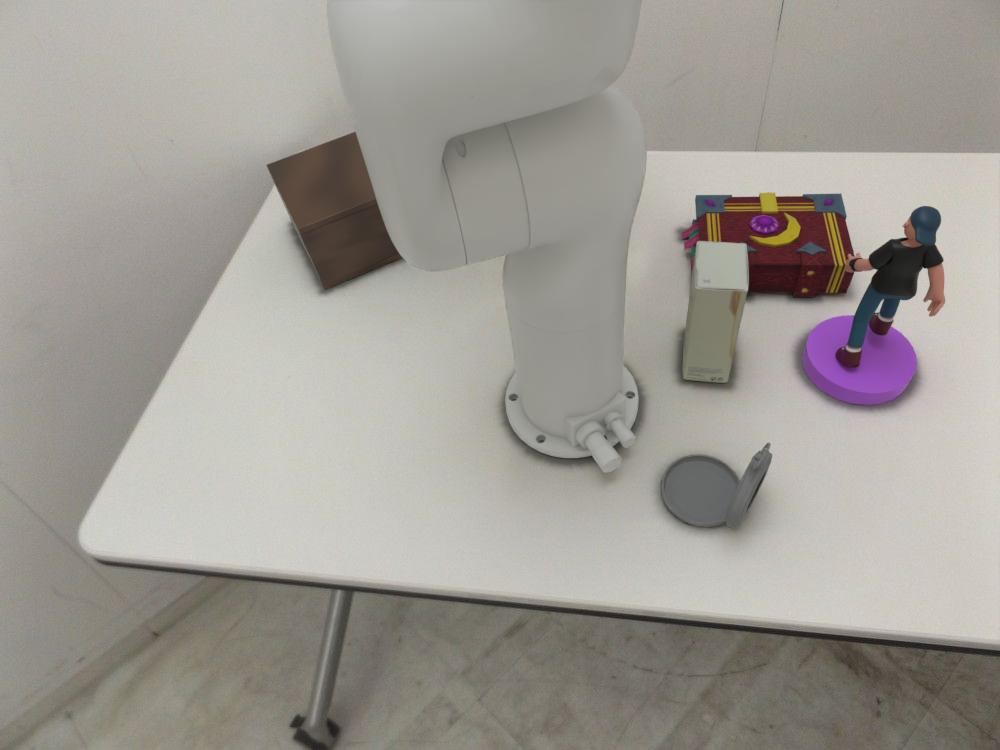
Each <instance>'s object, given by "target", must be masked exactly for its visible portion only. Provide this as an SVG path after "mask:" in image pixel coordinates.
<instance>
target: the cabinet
mask: <svg viewBox="0 0 1000 750" xmlns="http://www.w3.org/2000/svg"><path fill="white" fill-rule="evenodd" d="M266 168H267V170H268V172H269V174H270V176H271V179H272V181H273V183H274V185H275V188H276V191H277V192H278V195H279V197H280V199H281V201H282V203H283V207H284V208H285V210H286V212H287V215H288V218H289V220H290V221H291V224H292V225H293V228H294V230H295V232H296V234H297V236H298V238H299V240H300V242H301V244H302V247H303V248H304V250H305V252H306V254H307V256H308V258H309V261H310V263H311V264H312V267H313V269H314V271H315V273H316V275H317V277H318V279H319V281H320V283H321V285H322V287H323V290H325V291H326V290H328V289H331V288H333V287H336V286H338V285H340V284H343V283H344V282H348V281H350V280H352V279H355V278H357V277H360V276H362V275H365V274H367V273H369V272H371V271H374V270H376V269H379V268H381V267H384V266H386V265H388V264H390V263H394V262H395V261H398V260H400V259H403V257H402V256H401V255H400V254H399V252H398V251H397V249H396V247H395V246H394V244H393V242H392V240H391V238H390V236H389V234H388V232H387V229H386V227H385V224H384V221H383V218H382V215H381V212H380V209H379V206H378V203H377V200H376V197H375V193H374V190H373V187H372V183H371V180H370V177H369V174H368V170H367V167H366V164H365V161H364V158H363V154H362V151H361V148H360V145H359V141H358V138H357V135H356V132H355V131H353V132H350V133H348V134H345V135H343V136H340V137H337V138H334V139H332V140H329V141H327V142H323V143H321V144H318V145H316V146H313V147H310V148H308V149H305V150H302V151H300V152H297V153H294V154H292V155H288V156H287V157H283V158H281V159H277V160H275V161H273V162H270V163H267V164H266Z"/></svg>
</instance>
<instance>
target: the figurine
mask: <svg viewBox="0 0 1000 750" xmlns="http://www.w3.org/2000/svg"><path fill="white" fill-rule="evenodd" d="M941 224H942V215H941V213H940V211H939V210H938V209H937V208H936V207H933V206H930V205H922V206H921V205H920V206H919V207H917V208H915V209H913V210H912V212H911V214H910V216H909V217H908V219H907V221H905V222H904V224H903V225H902V228H904V229H903V234H904V236H905V237H900V238H890V239H889V240H887V241H886V242H885V243H883V244H882V245H881V246H880V247H878V248H876V249H875V250H874V251H872V252H871V253H870V254H869V255H868V258H863V257H861V253H860V252H856V253H855V255H854V256H855V257H853V256H851V254H848V260H847V261H846V265H845V266H846V272H850V273H853V272H854V273H855V272H856V273H861V272H870V271H873V270H876V271H875V273H874V274H873V275H872V277H871V279H870V283H869V284H868V286H867V288H866V289H865V292H864V294H863V295H862V297H861V299H860V301H859V303H858V306H857V308H856V311H855V313H854V314H851V315H850V314H849V315H839V316H834V317H830V318H828V319H827V318H826V319H825V320H823V321H821V322H820V323H818V324H817V325H816V326H815V327H814V328H812V329H811V332H810V333H809V335H808V337H807V339H806V342H805V345H804V348H803V351H802V355H801V363H802V367H803V370H804V372H805V374H806V376H807V378H808V379H809V380H810V381H811V383H812V384H813V385H814V386H815V387H816V388H817V389H819V390H820V391H821V392H823V393H825V394H826V395H828V396H829V397H831V398H834V399H836V400H838V401H841V402H843V403H848V404H852V405H859V406H875V405H880V404H881V405H882V404H885V403H888V402H891V401H893V400H895V399H896V398H898V397H900V396H901V394H903V392H904V391H906V389H907V388H908V385H909V384H910V382H911V380H912V378H913V376H914V375H915V373H916V370H917V365H918V358H917V354H916V352H915V349H914V346H913V345H912V343H911V342H910V340H908V338H907V337H905V335H904V334H903V333H902V332H900V331H899V330H898V329H896V328H895V327H893V323H894V317H895V316H896V315H897V311H898V308H899V305H900V303H901V301H909V300H911V299H913V298H914V297H916V296H917V292H918V280H919V275H920V272H921V271H922V270H923V269H926V270H927V276H928V281H929V287H928V289H927V291H926V295H925V296H924V298H923V300H922V301H923V303H927V302H928V301H931V302H930V304H929V305H928V307H927V309H926V310H927V311H928V312H929V313H928V317H935V316H937V315H938V313H939V312H940V311H941V309H942V308H943V307H944V306H945V304H946V296H945V270H944V265H943V262H944V260H945V259H944V257H943V255H942V254H941V252H940V250H939V249H938V246H937V245H936V243H937V232H938V230H939V228H940V226H941ZM881 303H882V304H881ZM880 304H881V306H880ZM879 306H880V309H879V312H876V311H877V310H878V308H879Z"/></svg>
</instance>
